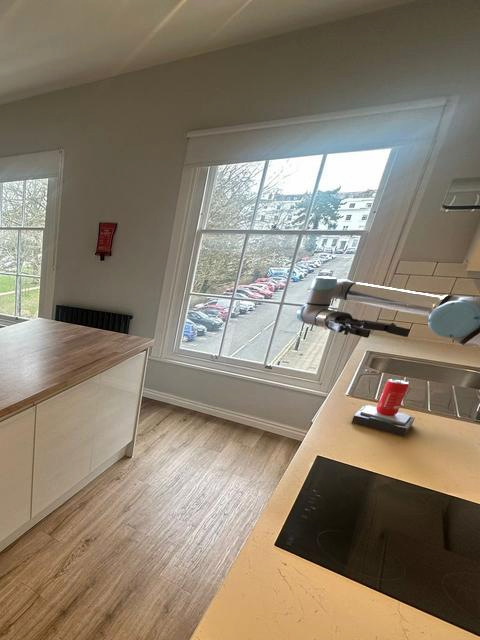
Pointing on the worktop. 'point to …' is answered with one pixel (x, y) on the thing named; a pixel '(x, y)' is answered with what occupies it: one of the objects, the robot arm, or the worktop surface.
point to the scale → (383, 421)
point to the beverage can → (392, 397)
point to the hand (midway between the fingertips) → (388, 333)
